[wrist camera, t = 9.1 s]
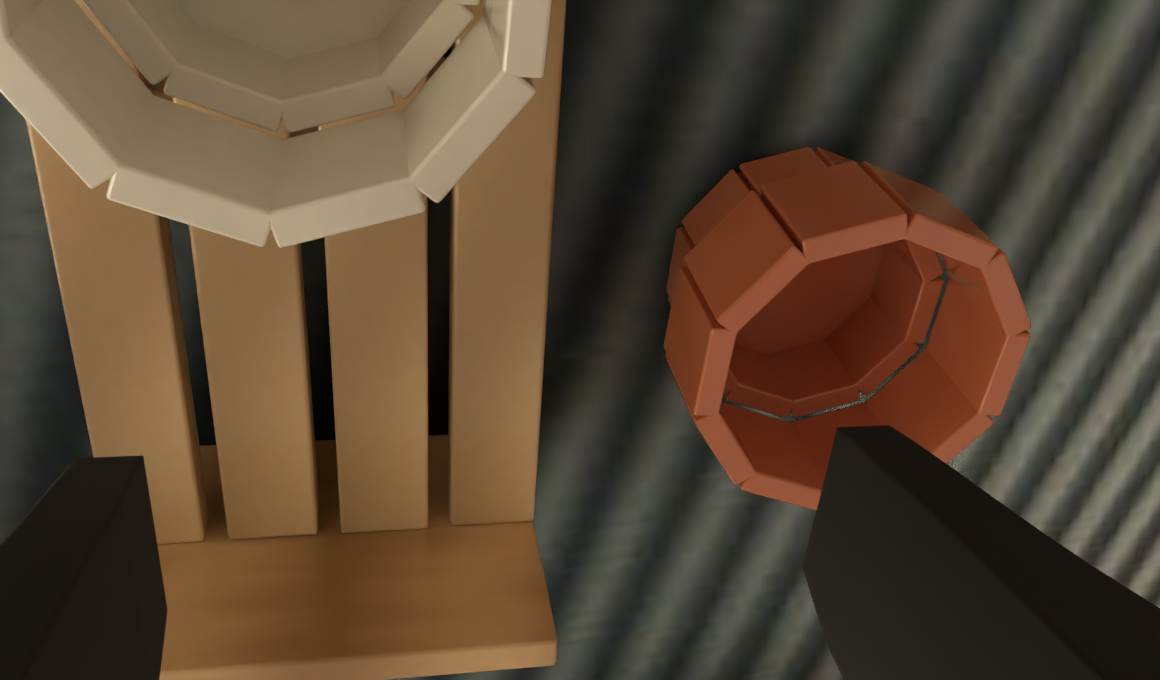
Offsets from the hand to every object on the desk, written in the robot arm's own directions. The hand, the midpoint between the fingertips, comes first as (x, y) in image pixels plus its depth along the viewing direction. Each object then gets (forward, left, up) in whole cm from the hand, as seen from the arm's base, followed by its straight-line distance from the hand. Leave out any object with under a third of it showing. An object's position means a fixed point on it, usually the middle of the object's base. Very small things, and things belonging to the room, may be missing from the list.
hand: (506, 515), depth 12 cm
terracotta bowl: (+1, -7, -10) cm, 12 cm away
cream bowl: (+4, +4, -7) cm, 9 cm away
